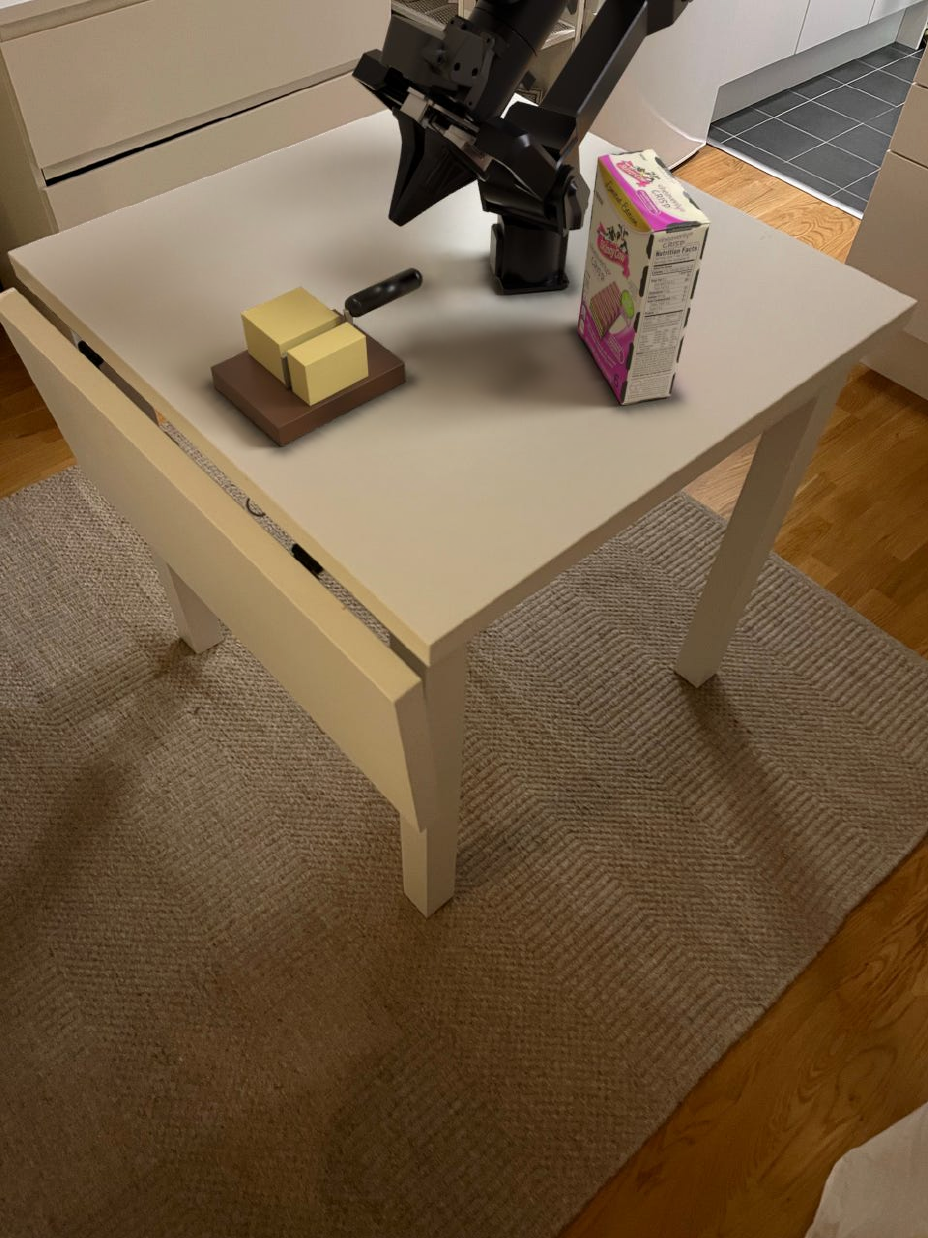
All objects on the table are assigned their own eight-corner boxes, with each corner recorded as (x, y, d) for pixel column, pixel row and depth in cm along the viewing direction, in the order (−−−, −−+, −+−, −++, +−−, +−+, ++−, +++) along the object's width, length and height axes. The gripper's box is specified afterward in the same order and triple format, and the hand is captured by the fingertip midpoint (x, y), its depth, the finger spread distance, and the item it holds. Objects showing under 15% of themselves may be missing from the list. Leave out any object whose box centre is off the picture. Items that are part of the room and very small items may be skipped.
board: (336, 327, 88) (334, 308, 86) (405, 381, 83) (405, 362, 82) (214, 386, 82) (209, 367, 81) (281, 447, 78) (277, 428, 76)
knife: (414, 315, 85) (413, 260, 81) (427, 324, 84) (427, 270, 80) (280, 381, 79) (271, 327, 75) (292, 392, 79) (284, 338, 74)
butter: (305, 326, 84) (300, 285, 81) (368, 376, 80) (365, 335, 77) (248, 353, 82) (240, 312, 79) (310, 406, 78) (304, 366, 75)
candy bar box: (572, 331, 88) (594, 153, 75) (623, 323, 89) (654, 145, 76) (618, 409, 81) (651, 228, 68) (672, 399, 82) (715, 219, 69)
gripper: (362, -75, 69) (256, 127, 73) (541, 7, 61) (410, 230, 65) (446, 18, 79) (348, 192, 83) (610, 101, 70) (492, 290, 74)
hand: (394, 222), depth 76 cm, fingers closed
